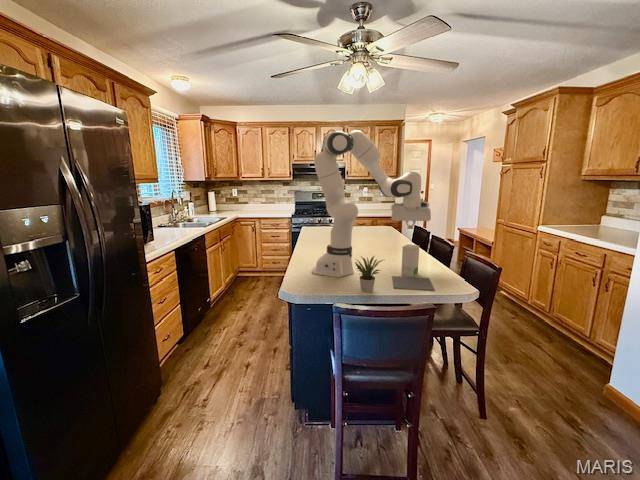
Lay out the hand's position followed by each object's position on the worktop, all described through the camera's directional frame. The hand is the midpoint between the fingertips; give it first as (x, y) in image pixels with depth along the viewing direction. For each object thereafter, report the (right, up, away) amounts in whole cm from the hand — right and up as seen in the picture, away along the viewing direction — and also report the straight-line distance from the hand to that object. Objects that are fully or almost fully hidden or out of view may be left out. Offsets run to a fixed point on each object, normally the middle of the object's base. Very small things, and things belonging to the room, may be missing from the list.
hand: (410, 228), depth 163 cm
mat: (-5, -27, -18) cm, 33 cm away
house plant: (-26, -29, -26) cm, 47 cm away
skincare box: (-2, -25, -5) cm, 25 cm away
